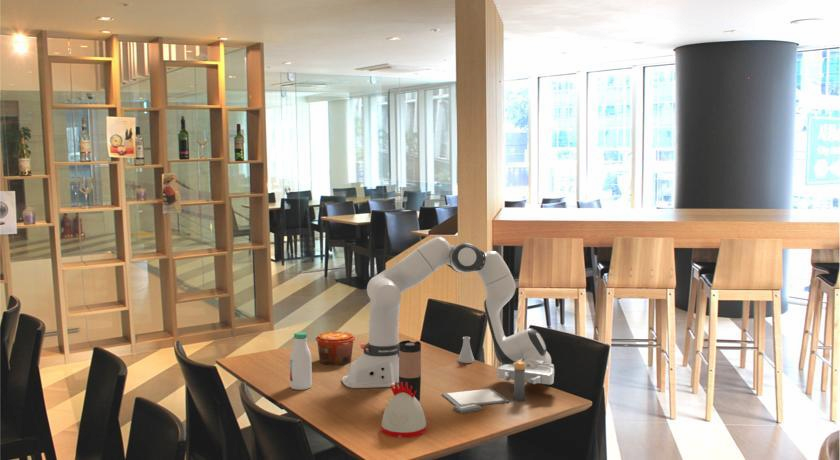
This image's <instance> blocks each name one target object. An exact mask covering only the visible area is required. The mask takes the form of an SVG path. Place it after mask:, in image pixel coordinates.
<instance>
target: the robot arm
mask: <svg viewBox="0 0 840 460" xmlns="http://www.w3.org/2000/svg"><path fill="white" fill-rule="evenodd" d="M444 266H448V267H449V268H451V269H452V270H453V271H454V272H456V273H459V274H467V273H468V274H469V273H472V272H474V273H476V274H477V275H478V276H479V277H480V278H481V281H482V283H483V286H484V288H485V292H486V298H485V300H484V303H483V307H484V312H485V316H486V320H487V324H488V328H489V331H490V335H491V339H492V341H493V342H492V343H493V348H494V353H495V356H496V359H497V361H499V362H500V363H501V364H502V365H499V366H498V367H497V369H496V378H499V379H503V380H504V381H506V382H508V381H510V380H512V381H514V362H519V361H520V360H522V361H521V362H525V383H527V384H531V385H536V384H540V385H541V384H542V385H553V384H554V382H555V379H554V378H555V365H554V364H553V363H552V357H551V355H550V353H549V352H548V351H547V343H546V340H545V339H544V337H543V335H542V333H540V332H539V331H538V330H536V329H534V328H531V327H528V328H526V329H523V330H521V331H519V332H516V333H514V334H511V335H509V336H506V335H505V332H504V329H503V325H502V321H501V317H500V313H501V311H502V308H504V306H505V305H506V304H507V303H509V301H511V299H512V298H513V296H514V295H515V293H516V290H517V289H516V288H517V285H516V282H515V278H514V277H513V274H512V272H511V271H510V268H509V266H508V265H507V263H506V261H505V260H504V258H503V257H502V256H501V255H500V253H499V252H498V251H495V250H490V251H489V250H488V251H486V252H484V251H482V250H481V249H480V248H478V247H477V246H476V245H474V244H472V243H468V242H462V243H460V244H459V243H458V244H457V245H452V244H450V243H449V241H448V240H447V239H445V238H444V237H441V236H435V237H433V238H431V239H429V240H427V241H425V242H424V243H422V244H421V245H419V246H418V247H416V248H415V249H414V250H412V251H411V252H410V253H409V254H407V255H406V256H405V257H403V258H402V259H401V260H399V261H398V262H396V263H395V264H392V265H391V266H389V267H388V268H386V269H384V270H382V271H381V272H380V273H378V274H377V275H375V276H373V277H372V278H370V280H369V281H368V282H367V286H366V293H367V296H368V298H369V300H370V313H369V321H368V343H366V344H365V343H364V342H360V345H359V346H360V349H362V350H363V353H362V354H361V355H360V356H358V357H357V358H356V359H355V360H353V361H351V362H350V364H349V367H348V372H347V373H348V374H347V375H344V376H342V380H341V381H342V384H343V385H345V386H346V387H348V388H350V389H361V388H362V389H363V388H364V389H367V388H369V389H370V388H371V389H372V388H391V385H392V386H393V387H395V382H397V384H399V343H400V342H399V319H400V312H401V304H402V303H401V301H402V300H401V299H402V293H403V292H406V291H407V290H409V289H411V288H413V287H416V286H417V285H419V284H421V283H422V282H423V281H425V280H426V279H427V278H428V277H430V276H431V275H432V274H434V273H435V272H436V271H437V270H438V269H440V268H441V267H444Z"/></svg>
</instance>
